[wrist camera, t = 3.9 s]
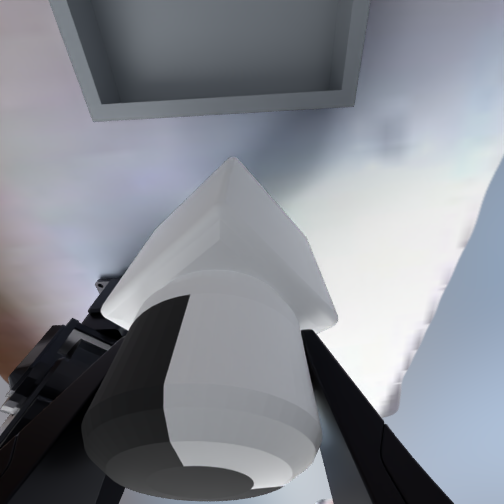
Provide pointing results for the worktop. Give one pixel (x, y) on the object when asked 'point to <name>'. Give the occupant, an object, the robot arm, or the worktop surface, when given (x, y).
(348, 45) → the bin
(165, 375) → the medicine bottle
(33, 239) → the worktop surface
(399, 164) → the worktop surface
